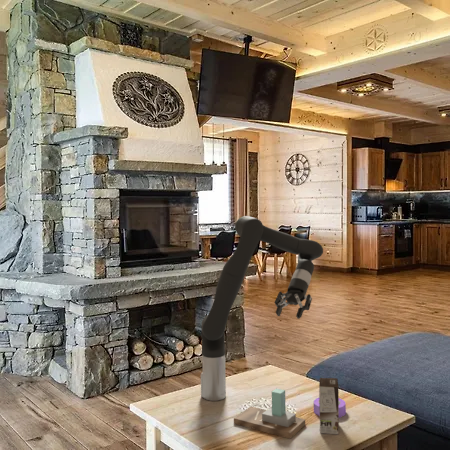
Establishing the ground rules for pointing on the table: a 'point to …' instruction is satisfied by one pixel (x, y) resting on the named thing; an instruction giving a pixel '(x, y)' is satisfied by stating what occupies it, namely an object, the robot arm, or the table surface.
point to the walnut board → (267, 423)
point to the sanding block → (278, 410)
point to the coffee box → (329, 405)
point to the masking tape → (341, 407)
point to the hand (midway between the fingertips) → (287, 316)
